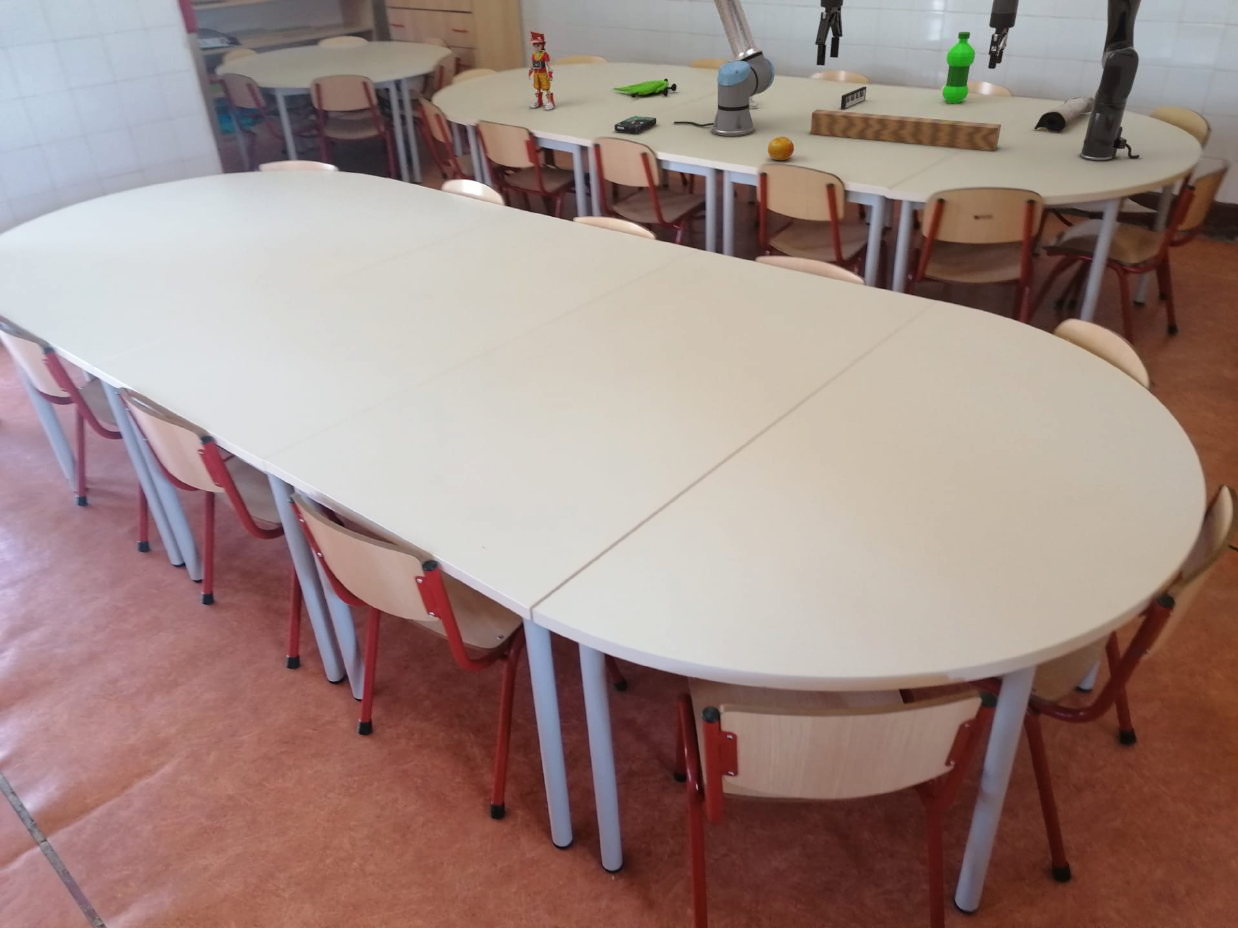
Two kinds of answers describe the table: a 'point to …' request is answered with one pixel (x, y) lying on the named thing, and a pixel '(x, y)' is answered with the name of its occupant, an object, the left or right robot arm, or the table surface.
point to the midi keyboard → (853, 97)
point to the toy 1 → (541, 71)
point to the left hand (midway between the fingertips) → (827, 61)
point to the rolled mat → (1065, 114)
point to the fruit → (780, 148)
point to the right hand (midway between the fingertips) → (994, 66)
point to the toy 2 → (648, 88)
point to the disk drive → (635, 124)
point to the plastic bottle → (958, 69)
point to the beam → (906, 129)
